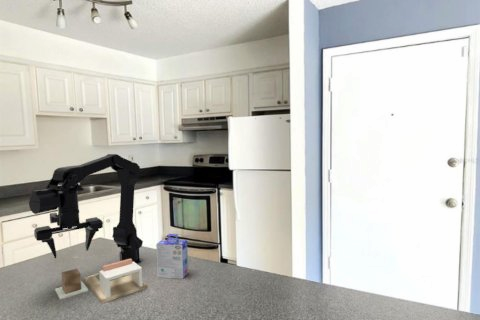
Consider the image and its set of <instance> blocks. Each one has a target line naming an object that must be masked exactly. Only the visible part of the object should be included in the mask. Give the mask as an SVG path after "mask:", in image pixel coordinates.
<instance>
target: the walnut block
mask: <svg viewBox="0 0 480 320" xmlns="http://www.w3.org/2000/svg"><path fill="white" fill-rule="evenodd" d="M81 281H82V280H81V272H80V270H78V268H73V269H71V270H70V269H69V270H66V271H62V272H61V287H62V289H63V291H64V292H65V294H68V293H71V292H74V291H78V290H81Z"/></svg>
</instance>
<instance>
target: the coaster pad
mask: <svg viewBox="0 0 480 320" xmlns="http://www.w3.org/2000/svg"><path fill="white" fill-rule="evenodd" d="M54 292H55V293H56V295H57V296H58V300H63V299H67V298H69V297H73V296H76V295H80V294H83V293H86V292H89V289H88V287H87V286H86V285H85V283H84V282H83V280H81V290H78V291H74V292H71V293H68V294H65V292H64V291H63V289H62V286H60V287H57V288H54Z"/></svg>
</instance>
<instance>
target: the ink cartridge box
mask: <svg viewBox="0 0 480 320" xmlns="http://www.w3.org/2000/svg"><path fill="white" fill-rule="evenodd" d="M178 236H179V234H178V233H168V235H167V239H161V240H160V241H158V242H157V243H156V244H155V246H156V248H155V249H156V277H157V278H163V279H165V278H167V279H184V278H185V277H186V276H187V275H188V274H189V265H188V264H189V263H188V262H189V261H188V260H189V258H188V255H189V254H188V240H187V239H178V238H179V237H178ZM173 237H175V238H173Z"/></svg>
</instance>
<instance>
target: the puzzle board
mask: <svg viewBox="0 0 480 320" xmlns="http://www.w3.org/2000/svg"><path fill="white" fill-rule="evenodd" d="M83 280H84V282H85V283H86V285H87V286H88V287H89V288H90V290H91V291H92V292H93V294H94V295H95V296H96V297H97V299H98V300H99V301H100V302H101V304H105V303H108V302H110V301H113V300H115V299H118V298H121V297H124V296H128V295H131V294H134V293H137V292H140V291H142V290H145V289H147V288H148V284H147V283H146V282H144V281H143V286H141V287H139V286H138V285H137V284H136V283H135V282H134V281H132V280H131V274H128V275H125V276H122V277H118V278H115V279H112V280H110V293H111V297H109V298H107V297H106V296H105V295H104V293H103V292H102V291H101V290H100V277H99V272H98V273H95V274H92V275H88V276H85V277H84V278H83Z"/></svg>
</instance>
